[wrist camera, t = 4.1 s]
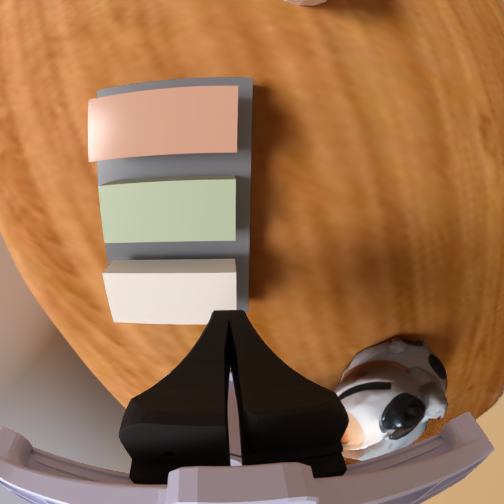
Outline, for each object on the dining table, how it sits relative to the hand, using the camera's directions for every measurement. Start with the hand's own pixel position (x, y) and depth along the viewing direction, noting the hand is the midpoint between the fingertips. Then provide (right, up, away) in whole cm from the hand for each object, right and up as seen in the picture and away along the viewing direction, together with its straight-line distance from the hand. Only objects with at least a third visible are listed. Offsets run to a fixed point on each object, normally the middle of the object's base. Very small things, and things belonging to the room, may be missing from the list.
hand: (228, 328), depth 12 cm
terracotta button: (-4, +11, +2) cm, 11 cm away
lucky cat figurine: (+14, -11, +16) cm, 24 cm away
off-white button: (-4, +1, +6) cm, 7 cm away
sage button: (-4, +6, +5) cm, 9 cm away
